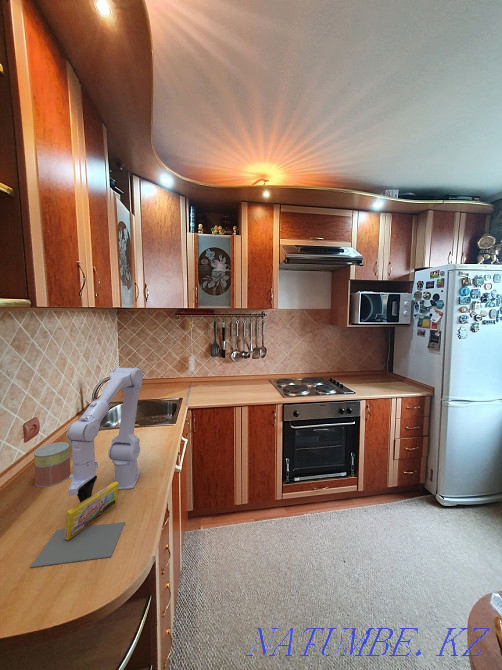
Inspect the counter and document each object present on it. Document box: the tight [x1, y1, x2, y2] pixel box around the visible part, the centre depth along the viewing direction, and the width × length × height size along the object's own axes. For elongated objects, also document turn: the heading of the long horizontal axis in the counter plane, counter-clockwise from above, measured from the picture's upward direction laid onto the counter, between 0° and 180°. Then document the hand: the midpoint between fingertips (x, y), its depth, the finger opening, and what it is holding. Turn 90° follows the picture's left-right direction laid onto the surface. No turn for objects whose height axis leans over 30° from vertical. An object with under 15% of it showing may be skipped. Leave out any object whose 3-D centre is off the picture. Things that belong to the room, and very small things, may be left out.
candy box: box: [64, 480, 119, 540], centre depth 81 cm, size 16×2×8 cm, turn 158°
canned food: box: [33, 441, 72, 488], centre depth 104 cm, size 11×11×12 cm
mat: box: [29, 521, 126, 569], centre depth 74 cm, size 12×19×1 cm, turn 99°
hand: (85, 503), depth 81 cm, fingers closed
